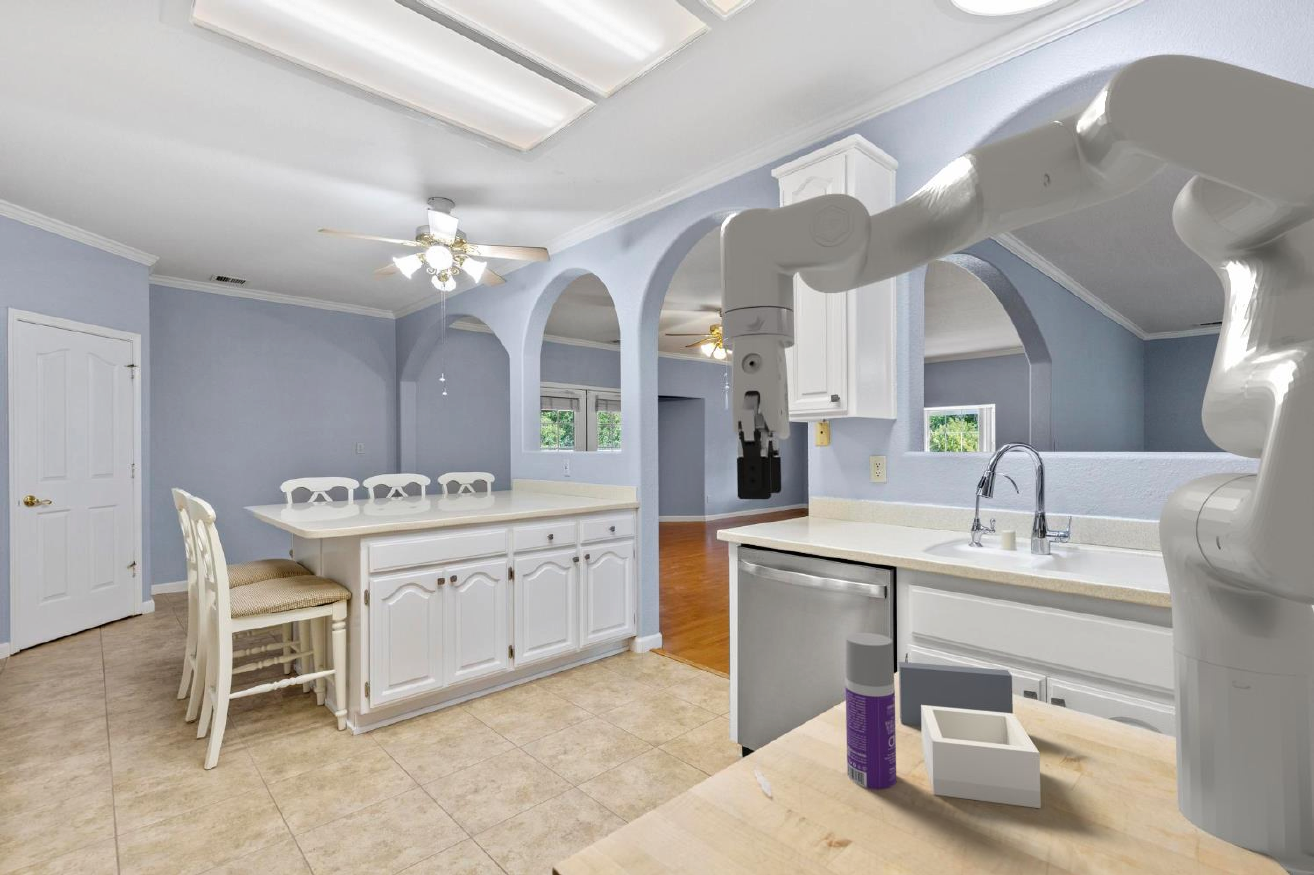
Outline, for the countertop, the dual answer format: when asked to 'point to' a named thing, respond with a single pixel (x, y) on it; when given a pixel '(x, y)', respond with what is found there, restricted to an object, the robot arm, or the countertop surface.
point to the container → (870, 711)
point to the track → (952, 689)
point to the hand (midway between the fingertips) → (761, 495)
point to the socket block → (980, 756)
